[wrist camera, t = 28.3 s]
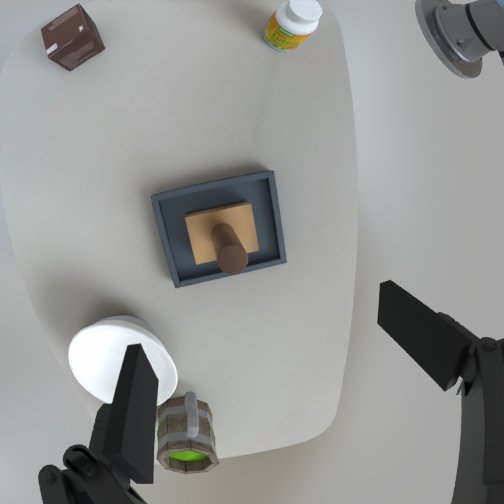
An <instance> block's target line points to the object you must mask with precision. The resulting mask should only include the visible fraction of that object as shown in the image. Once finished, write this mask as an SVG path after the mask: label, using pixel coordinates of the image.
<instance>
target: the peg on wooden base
mask: <svg viewBox="0 0 504 504" xmlns="http://www.w3.org/2000/svg"><path fill="white" fill-rule="evenodd" d="M185 220H186V225H187V229H188V233H189V238H190V242H191V246H192V250H193V254H194V258H195V262H196V264H201V263H206V262H210V261H215V260H217V263H218V266H219V268H220V269H221V270H222V271H223V272H225V273H227V274H237V273H239V272H241V271H242V270H243V269H244V268H245V267H246V265H247V263H248V254H247V253H250V252H254V251H259V247H258V241H257V235H256V229H255V223H254V217H253V211H252V205H251V203H249V202H248V201H247V200H243V201H238V202H233V203H228V204H223V205H219V206H214V207H209V208H205V209H200V210H196V211H191V212H187V213H186V216H185Z"/></svg>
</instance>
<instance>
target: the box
mask: <svg viewBox="0 0 504 504" xmlns="http://www.w3.org/2000/svg"><path fill="white" fill-rule="evenodd" d="M41 32H42V36H43V40H44V44H45V48H46V52H47V55H48V58H49V59H51V60H52V61H54V62H56V63H57V64H59V65H61V66H62V67H64V68H65V69H67V70H69V71H71V70H73V69H74V68H76V67H77V66H79V65H80V64H82V63H83V62H85V61H86V60H88V59H89V58H91V57H93V56H94V55H96V54H97V53H99V52H101V51H102V50H104V49H105V47H104V45H103V42H102V40H101V38H100V35H99V33H98V30H97V28H96V25H95V23H94V22H93V21H92V19H91V18H90V17H89V15H88V14H87V13H86V11H85V10H84V9H83V7H82V6H81V5H80V4H77V5H76V6H74V7H72V8H71V9H69V10H68V11H66V12H65V13H63V14H61V15H60V16H59V17H57V18H56V19H54V20H53V21H51V22H50V23H49V24H47V25H46V26H44V27H43V28H42V29H41Z"/></svg>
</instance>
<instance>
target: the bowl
mask: <svg viewBox="0 0 504 504" xmlns="http://www.w3.org/2000/svg"><path fill="white" fill-rule="evenodd" d="M138 343H141V345H142V347H143V349H144V352H145V354H146V356H147V358H148V360H149V362H150V364H151V366H152V368H153V370H154V372H155V374H156V376H157V378H158V380H159V386H158V397H157V405H160V404H161V403H163V402H165V401H166V400H167V399H168V398H169V397H170V396H171V395H172V394H173V392H174V390H175V388H176V385H177V370H176V367H175V364H174V362H173V360H172V359H171V357H170V355H169V354H168V353H167V350H166V347H165V345H164V343H163V341H162V340H161V339H160V338H159V336H158V335H157V334H156V332H155V331H154V330H153V329H152V328H151V327H150V326H149V325H148V324H147V323H146V322H145V321H143V320H142V319H140V318H137V317H135V316H131V315H119V316H112V317H108V318H104V319H101V320H99V321H98V322H96V323H94V324H93V325H91V326H87V327H86V328H84V329H82V330H80V331H79V332H78V333H77V334H76V335H75V336H74V337H73V339H72V340H71V342H70V345H69V350H68V360H69V364H70V367H71V370H72V372H73V374H74V376H75V377H76V379H77V380H78V381H79V383H80V384H81V385H82V386H83V387H84V388H85V389H86V390H87V391H88V392H90V393H91V394H92V395H94V396H95V397H97V398H98V399H100V400H102V401H104V402H106V403H108V404H109V403H112V401H113V397H114V393H115V389H116V385H117V381H118V377H119V373H120V369H121V366H122V362H123V359H124V355H125V352H126V348H127V345H132V344H138Z"/></svg>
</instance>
